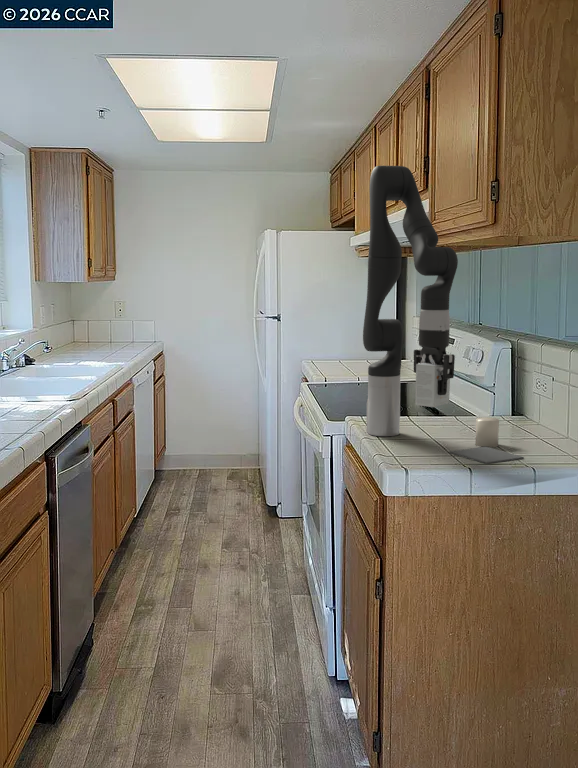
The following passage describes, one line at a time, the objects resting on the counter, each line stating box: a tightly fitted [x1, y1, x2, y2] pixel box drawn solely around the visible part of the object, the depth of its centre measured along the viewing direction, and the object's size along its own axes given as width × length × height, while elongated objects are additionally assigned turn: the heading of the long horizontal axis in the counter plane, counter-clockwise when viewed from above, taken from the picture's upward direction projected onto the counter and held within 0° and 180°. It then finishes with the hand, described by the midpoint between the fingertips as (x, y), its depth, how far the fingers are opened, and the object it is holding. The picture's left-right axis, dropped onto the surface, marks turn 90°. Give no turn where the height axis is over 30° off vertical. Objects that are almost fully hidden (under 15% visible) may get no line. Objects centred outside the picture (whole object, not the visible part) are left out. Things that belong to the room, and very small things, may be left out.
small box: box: [414, 363, 451, 408], centre depth 197 cm, size 8×6×10 cm
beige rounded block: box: [474, 417, 500, 448], centre depth 210 cm, size 6×6×7 cm
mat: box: [449, 446, 524, 465], centre depth 197 cm, size 14×12×1 cm
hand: (432, 392), depth 198 cm, fingers closed on small box, 7 cm apart
